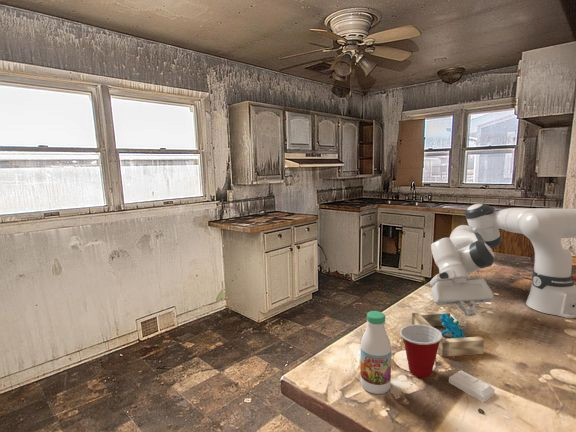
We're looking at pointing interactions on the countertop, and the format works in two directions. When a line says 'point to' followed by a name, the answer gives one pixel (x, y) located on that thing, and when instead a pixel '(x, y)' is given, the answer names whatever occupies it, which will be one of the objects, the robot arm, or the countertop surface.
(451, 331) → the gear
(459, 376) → the soap bar
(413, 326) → the plastic cup
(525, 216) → the robot arm
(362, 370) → the milk bottle
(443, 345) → the carrier pocket
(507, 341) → the countertop surface
